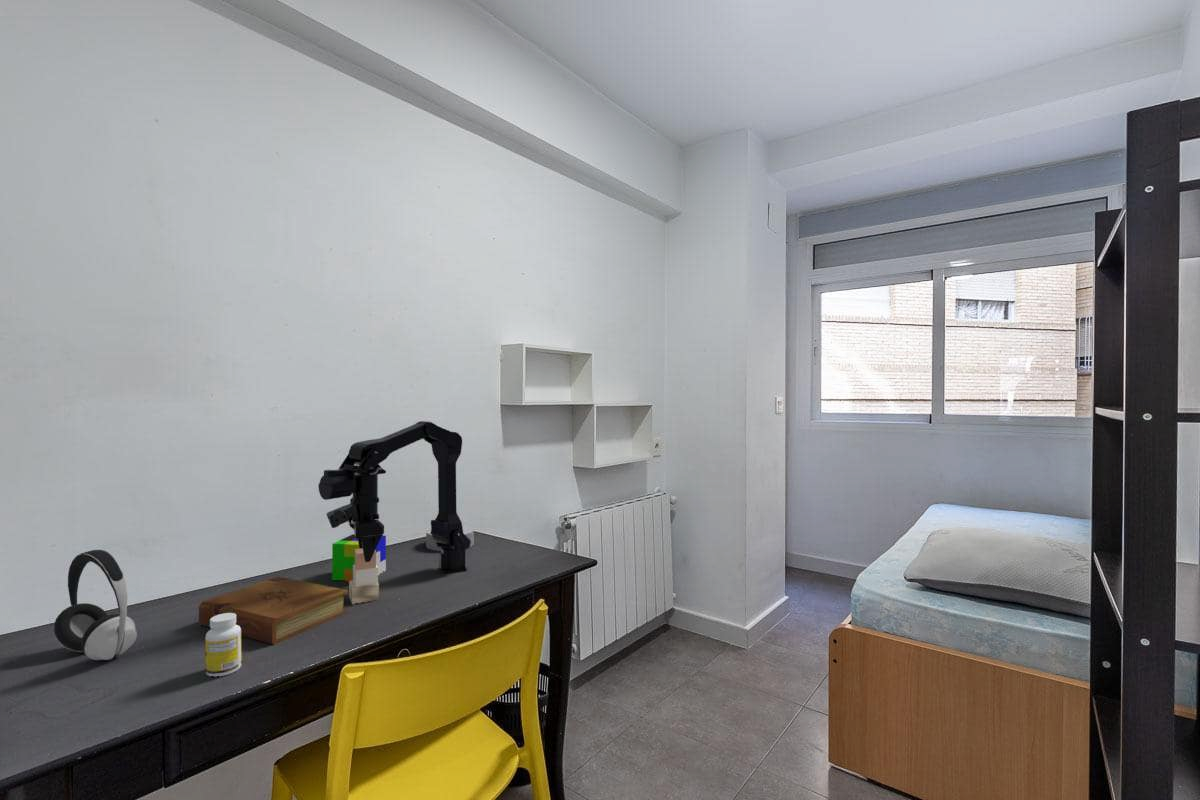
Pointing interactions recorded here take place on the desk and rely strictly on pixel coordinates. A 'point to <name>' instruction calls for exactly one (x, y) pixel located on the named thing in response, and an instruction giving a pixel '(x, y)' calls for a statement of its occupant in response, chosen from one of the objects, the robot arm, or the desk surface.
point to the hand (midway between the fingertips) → (365, 556)
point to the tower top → (365, 576)
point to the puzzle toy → (353, 557)
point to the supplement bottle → (223, 645)
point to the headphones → (96, 613)
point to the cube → (360, 560)
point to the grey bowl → (433, 546)
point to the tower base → (363, 593)
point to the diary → (276, 608)
